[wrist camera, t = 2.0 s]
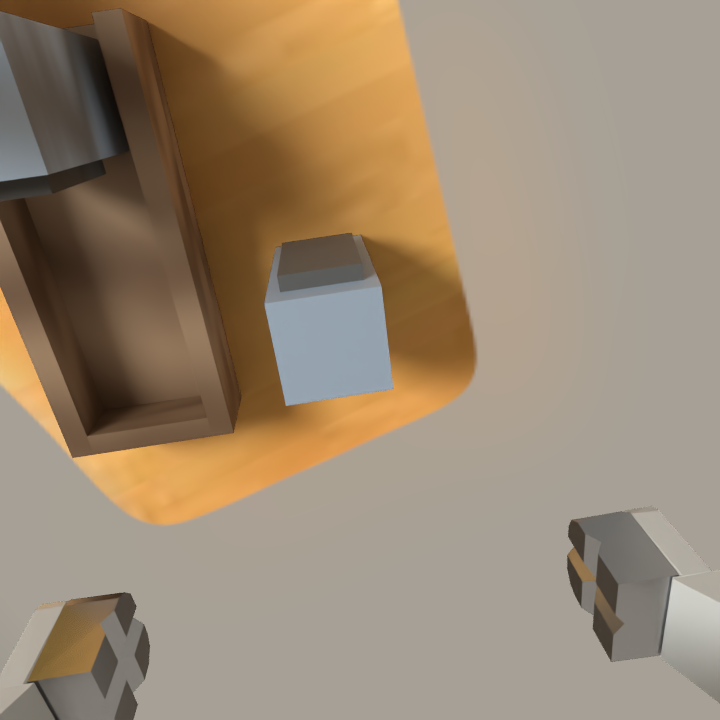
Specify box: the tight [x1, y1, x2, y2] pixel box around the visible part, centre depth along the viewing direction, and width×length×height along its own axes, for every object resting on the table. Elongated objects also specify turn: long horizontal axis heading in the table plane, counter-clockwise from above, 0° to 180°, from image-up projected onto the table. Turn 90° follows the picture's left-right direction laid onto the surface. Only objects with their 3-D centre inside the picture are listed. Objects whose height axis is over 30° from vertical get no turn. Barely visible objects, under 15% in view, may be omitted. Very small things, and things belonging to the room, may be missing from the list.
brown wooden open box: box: [0, 8, 241, 458], centre depth 21 cm, size 17×8×9 cm, turn 7°
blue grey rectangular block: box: [264, 233, 393, 406], centre depth 23 cm, size 5×4×8 cm
